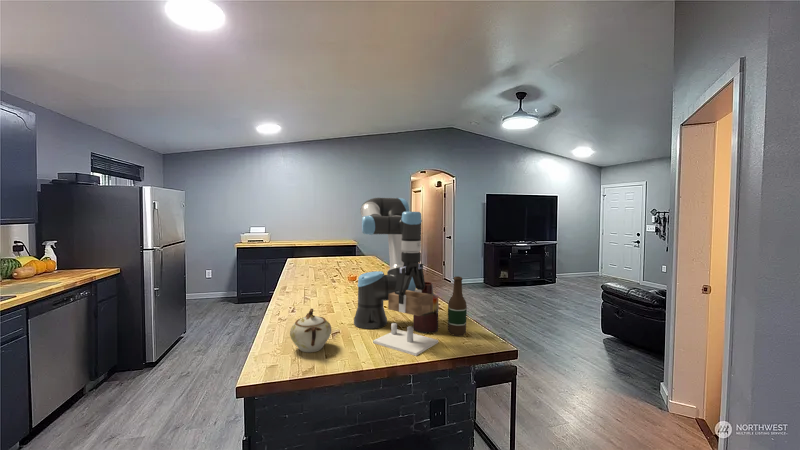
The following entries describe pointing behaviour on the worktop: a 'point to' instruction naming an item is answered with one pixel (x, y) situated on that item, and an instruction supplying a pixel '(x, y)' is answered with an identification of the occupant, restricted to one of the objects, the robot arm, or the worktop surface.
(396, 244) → the robot arm
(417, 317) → the vase
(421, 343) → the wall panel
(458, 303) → the beer bottle
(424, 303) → the frame
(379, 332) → the worktop surface
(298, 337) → the sugar bowl
